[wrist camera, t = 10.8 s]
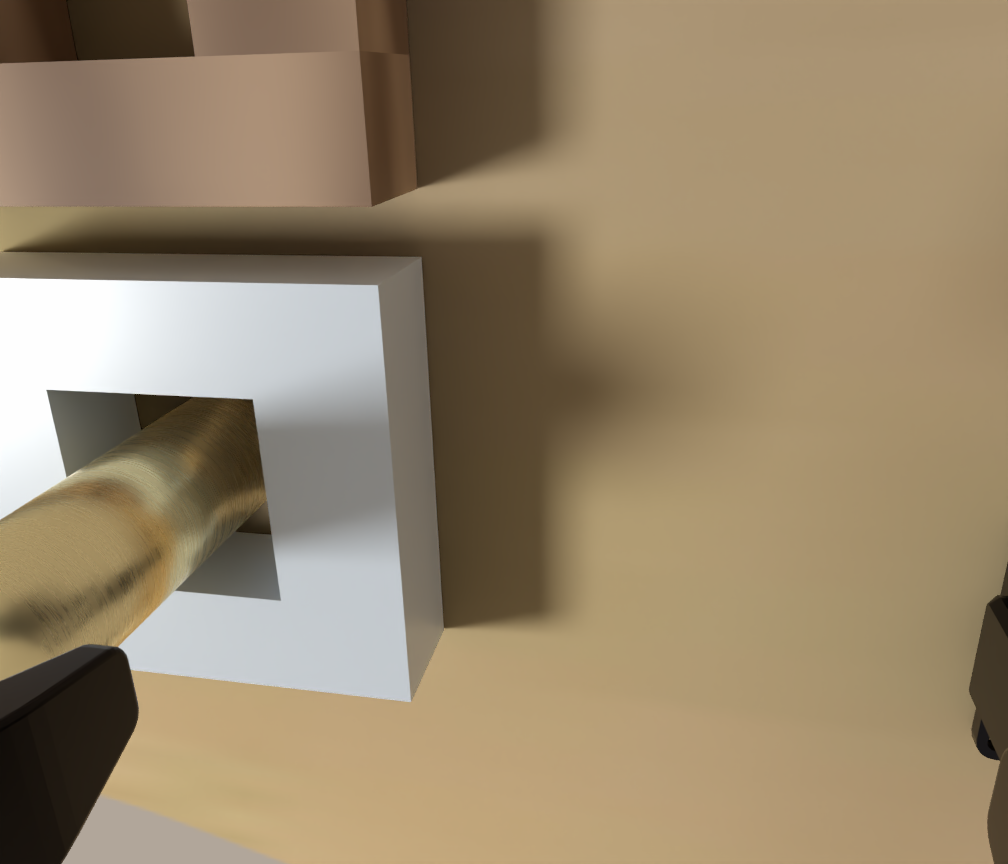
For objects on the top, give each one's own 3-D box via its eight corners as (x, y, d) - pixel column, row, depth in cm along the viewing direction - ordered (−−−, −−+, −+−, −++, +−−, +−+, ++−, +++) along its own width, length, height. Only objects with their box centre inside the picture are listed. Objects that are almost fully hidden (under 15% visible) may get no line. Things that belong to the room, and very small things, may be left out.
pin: (282, 391, 22) (33, 580, 14) (296, 506, 23) (76, 743, 15) (166, 386, 22) (-138, 563, 14) (186, 498, 24) (-85, 721, 15)
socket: (421, 256, 20) (377, 285, 17) (443, 629, 23) (411, 702, 21) (-1, 251, 22) (-99, 276, 19) (81, 594, 26) (8, 655, 23)
